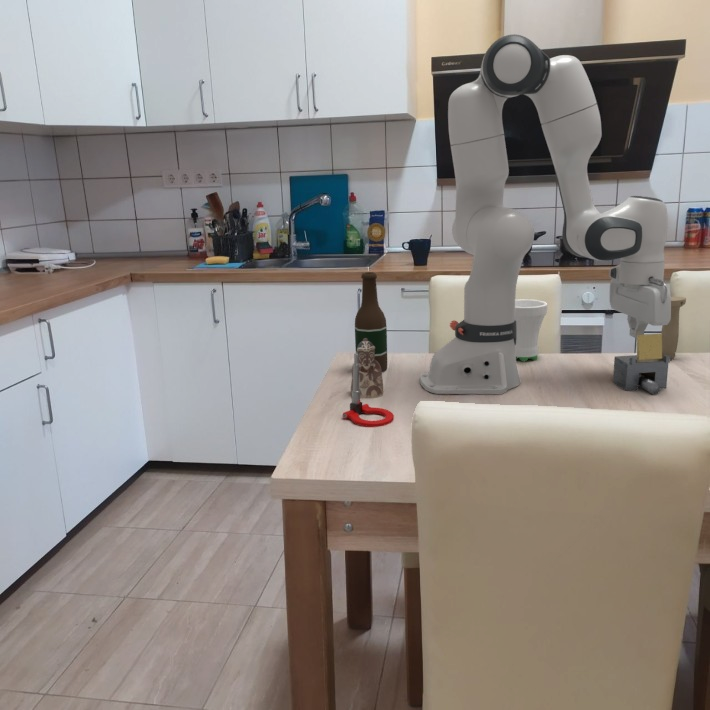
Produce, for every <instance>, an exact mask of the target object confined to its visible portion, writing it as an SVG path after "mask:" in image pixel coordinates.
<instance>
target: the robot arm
mask: <svg viewBox="0 0 710 710" xmlns="http://www.w3.org/2000/svg"><path fill="white" fill-rule="evenodd" d="M477 76H478V77H477V78H476V79H475V80H473V81H471V82H468V83H465V84H462V85H460V86H459V87H457V88H456V89H455V90H454V91H453V92H452V93H451V94H450V95H449V99H448V104H447V105H448V106H447V109H448V110H447V119H448V120H447V121H448V122H447V123H448V135H449V143H450V144H449V145H450V151H451V156H452V158H451V159H452V164H453V165H452V166H453V169H454V170H453V171H454V172H453V173H454V177H455V190H456V191H455V217H454V220H453V222H452V225H451V227H452V228H451V234H452V238H453V240H454V242H455V244H457V245H458V246H459V247H460V248H461V249H462V250H463V251H464V252H465V253H468V254H470V255H473V261H472V265H471V270H470V274H469V277H468V280H467V281H466V282H465V284H464V289H463V290H464V293H463V295H464V296H463V297H464V300H463V303H464V304H463V306H464V307H463V310H464V311H463V312H464V313H463V319H462V320H461V321H460V322H458V321H457V320H455V319H454V320H451V321H450V323H449V327H450V329H451V330H452V331H454V336H455V337H454V338H452V339H451V340H450V341H449V342H447V343H446V344H445V345H443V346H442V347H441V348H440V349H438V350H437V351H436V352H434V353H433V355H432V357H431V360H430V366H429V371H427V372H423V373H422V374H420V379H419V382H420V385H421V386H422V388H423V389H424V390H426V391H428V392H430V393H433V394H436V395H442V394H443V395H446V394H447V395H451V394H452V395H457V394H458V395H494V394H495V395H502V394H505V393H506V392H508V390H511V389H514V388H515V387H518V386H519V385H520V384H521V382H522V381H521V378H520V375H519V370H518V365H517V359H516V355H515V345H516V340H517V326H516V320H515V300H516V296H517V295H516V291H517V284H518V283H517V282H518V280H519V279H518V278H519V274H520V271H521V267H522V263H523V260H524V259H525V256H526V254H527V253H529V251H530V249H531V247H532V246H533V243H534V240H535V239H534V238H535V230H534V225H533V224H532V221H531V220H530V218H529V217H527V216H525V215H524V214H523V213H522V212H520V211H517V210H516V209H514V208H510V207H504V192H505V186H506V181H507V179H508V177H509V174H510V172H509V171H510V169H509V161H508V154H507V153H508V152H507V148H506V147H507V145H506V140H505V139H506V138H505V132H504V124H503V109H504V104H505V102H506V101H507V100H510V99H511V98H513V97H518V96H520V95H521V96H522V95H524V96H526V97H528V98H530V100H531V101H532V102H533V104H534V106H535V108H536V111H537V113H538V118H539V121H540V124H541V129H542V132H543V136H544V138H545V139H544V140H545V141H546V144H547V148H548V151H549V153H550V157H551V161H552V164H553V167H554V172H555V178H556V182H557V187H558V191H559V195H560V199H561V204H562V208H563V210H562V211H563V226H562V232H561V233H562V234H561V235H562V242H563V245H564V247H565V248H566V250H567V251H568V252H569V253H570V254H571V255H574V256H576V257H579V258H588V259H590V260H595V261H599V262H600V261H601V262H609V261H613V260H618V259H619V264H617V265H615V266H613V267H611V268H609V270H608V271H609V272H608V277H609V278H611V279H610V283H609V306H610V308H611V310H614V311H617V312H618V313H621V314H624V315H627V317H626V318H627V324H628V327H629V336H630V337H633V338H635V339H636V340H637V335H644V334H645V330H646V329H647V327H648V325H651V326H654V327H655V326H657V327H658V326H659V327H661V326H662V325H668V323H669V322H670V319H671V297H672V295H671V291H670V290H669V288H668V286H667V285H666V281H665V280H664V276H665V263H666V256H665V251H664V250H665V245H666V242H667V239H668V225H669V224H668V222H669V221H668V208H667V205H666V203H665V202H664V201H663V200H661V199H659V198H656V197H648V196H641V195H631V196H628V197H627V199H625V200H624V201H622V203H620V204H618V205H617V206H614V207H612V208H611V209H609V210H607V211H603V212H600V211H599V210H598V209H597V208H596V206H595V205H594V200H593V194H592V189H591V184H590V180H589V176H588V175H589V174H588V164H589V162H590V161H589V160H590V158H591V157H592V156H591V155H592V154H593V153H594V151H595V150H596V149H597V148H598V145H599V144H600V141H601V138H602V137H603V135H602V134H603V133H602V132H603V131H602V121H601V114H600V110H599V105H598V102H597V99H596V96H595V93H594V90H593V89H594V88H593V87H592V84H591V82H590V80H589V79H590V78H589V77H588V75H587V72H586V70H585V68H584V66H583V64H582V62H581V61H580V59H579V58H577V57H576V56H573V55H569V54H562V55H557V56H554V57H551V58H550V57H549V55H547V54H546V53H545V52H544V51H543V50H542V49H541V48H539V46H538V45H537V44H535V42H533V41H532V40H531V39H530V38H528V37H526V36H523V35H520V34H507V35H505V36H501V37H499V38H498V39H496V40H495V41H494V42H493V43H492V44H491V45H490V46H489V48H488V49H487V50H486V51H485V53H484V55H483V59H482V61H481V65H480V70H479V73H478V75H477Z"/></svg>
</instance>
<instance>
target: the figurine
mask: <svg viewBox="0 0 710 710" xmlns="http://www.w3.org/2000/svg"><path fill="white" fill-rule="evenodd" d="M357 353H358V363H359V390H360V399H367V400H368V399H375V398H379V397H381V396H383V394H384V381H383V372H382V370H381V366H380V364H379V363H378V361H377V360H375V346H374V345H373V344H372V343H371V342H370V341H368V339H367V338H364V339H363V341H362V342H360V343H359V345H358V347H357ZM351 368H352V369H351V381H350V383H351V384H350V394H351V395H352V391H353V367H351Z"/></svg>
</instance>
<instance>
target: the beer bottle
mask: <svg viewBox="0 0 710 710" xmlns="http://www.w3.org/2000/svg"><path fill="white" fill-rule="evenodd" d="M360 278H361V279H362V283H361V284H362V287H361V288H362V291H361V305H360V307H359V309H358V310H357V312H356V316H355V319H354V338H355V339H354V340H355V343H354V344H355V353H357V347H358V345H359V343H360V342H362V341H363V339H364V338H367V339H368V341H370V342H371V343H372V344H373V345H374V346H375V360H377V361H378V363H379V364H380V366H381V370H382V373H384V372H385V371H387V370H388V334H387V333H388V329H387V319H386V316H385V313H384V312H383V310H382V309H381V307H380V305H379V301H378V289H377V288H378V287H377V278H378V276H377V273H375V272H374V271H373V272H372V271H369V272H367V271H366V272H363V273H361V277H360Z"/></svg>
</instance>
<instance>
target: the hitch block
mask: <svg viewBox="0 0 710 710" xmlns="http://www.w3.org/2000/svg"><path fill="white" fill-rule="evenodd" d="M663 358H664V362H647V363H636V359H637V354H635V355H617V356H616V355H615V356H614V360H613V363H614V364H613V372H612V373H613V375H612V383H613V384H614V385H616V386H617V387H619V388H621V389H622V390H623V391H625V392H627V391H629V392H631V391H639V386H638V382H639V373H641V374H642V375H643V376H645V377H647V378H649V379H651V380H652V381H654V382H656V383H658V384H659V385H660V387H661V389H660V390H662V389H663V388H664V389H667V385H668V384H667V383H668V372H669V364H670V361H671V360H670V356H668V355H663ZM664 389H663V390H664Z"/></svg>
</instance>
